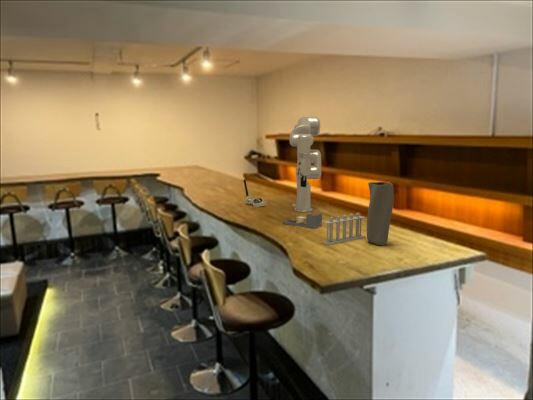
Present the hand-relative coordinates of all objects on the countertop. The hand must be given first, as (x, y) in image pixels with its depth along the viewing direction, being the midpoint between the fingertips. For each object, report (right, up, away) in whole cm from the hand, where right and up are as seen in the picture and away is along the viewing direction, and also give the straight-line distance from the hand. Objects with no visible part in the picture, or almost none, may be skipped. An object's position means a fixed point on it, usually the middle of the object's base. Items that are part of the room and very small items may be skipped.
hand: (303, 186), depth 246 cm
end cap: (+5, -24, -7) cm, 25 cm away
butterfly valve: (-30, -12, +61) cm, 69 cm away
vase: (+33, -30, -42) cm, 61 cm away
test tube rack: (+18, -29, -36) cm, 49 cm away
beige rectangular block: (+1, -23, -5) cm, 24 cm away
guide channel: (-4, -23, -1) cm, 23 cm away
